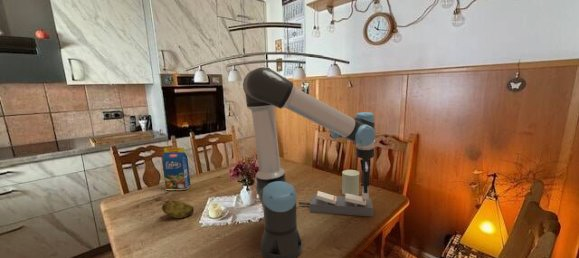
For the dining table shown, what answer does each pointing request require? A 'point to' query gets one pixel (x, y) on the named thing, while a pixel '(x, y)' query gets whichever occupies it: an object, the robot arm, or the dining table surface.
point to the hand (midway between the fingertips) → (365, 198)
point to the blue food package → (175, 168)
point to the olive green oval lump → (177, 208)
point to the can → (350, 182)
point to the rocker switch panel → (340, 207)
